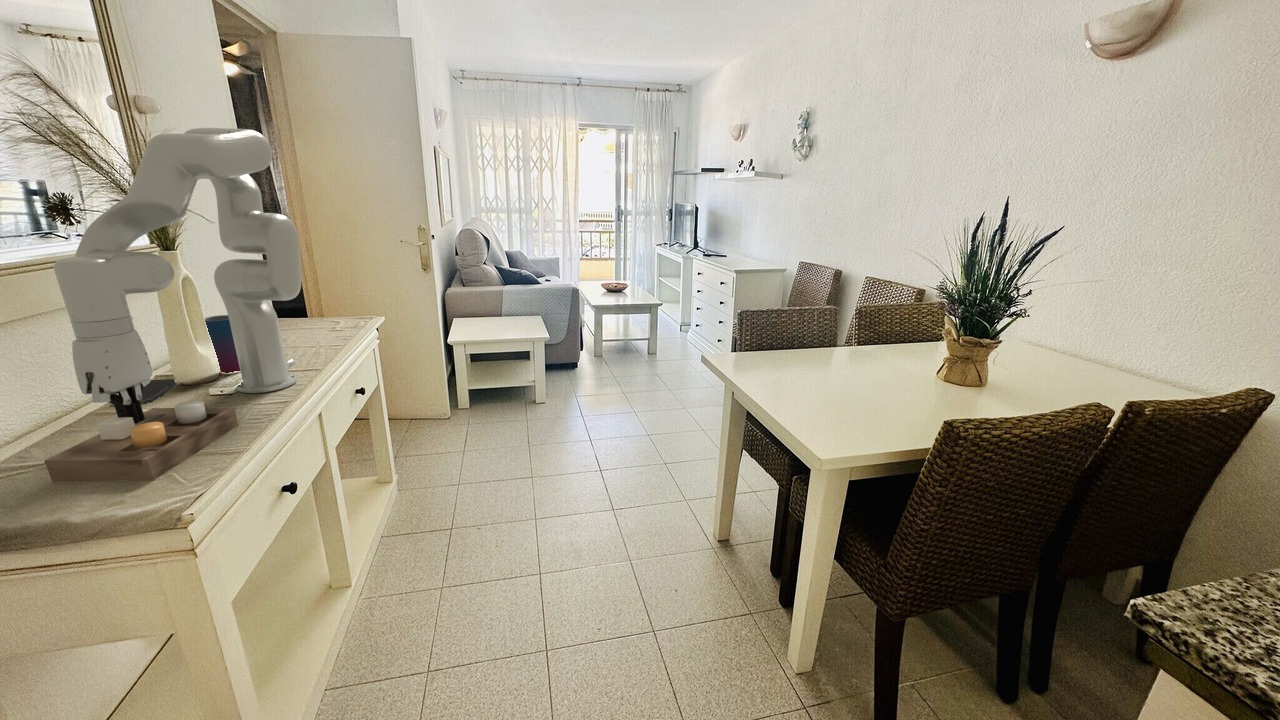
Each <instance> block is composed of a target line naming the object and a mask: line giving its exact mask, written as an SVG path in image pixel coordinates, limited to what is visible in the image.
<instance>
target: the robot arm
mask: <svg viewBox="0 0 1280 720" xmlns="http://www.w3.org/2000/svg"><path fill="white" fill-rule="evenodd" d="M272 160H273V148H272V146H271V144H270V142H269V140H268V139H267V138H266V137H265V136H264V135H263V134H262V133H260V132H258V131H256V130H254V129H250V128H249V129H247V128H228V127H227V128H223V127H196V128H191V129H189V130H186V131H185V132H184V133H162V134H156V135H155V136H153V137H152V138H151V139H150V140H149V141H148V143H147V145H146V148H145V150H144V152H143V155H142V157H141V160H140V162H139V166H138V168H137V171H136V173H135V176H134V178H133V180H132V183H131V184H130V185H131V186H130V188H129V190H128V192H127V194H126V196H124V198H121V200H119V201H117V202H115V203H114V204H113V205H112V206H110V207H109V208H108V209H107V210H106V211H104V212H103V213H101V215H99V216H98V217H97V218H96V219H95V220H94V221H93V222H92V223H91V224H90V225H89V226H88V227H87V228H86V230H85V231H84V233H83V235H82V237H81V240H80V242H79V244H78V247H77V248H76V249H77V250H76V252H75V255H74V257H73V256H72V257H63V258H61V259H57V260H56V261H55V263H54V264H53V270H54V274H55V277H56V280H57V283H58V286H59V291H60V294H61V296H62V299H63V302H64V305H65V309H66V312H67V314H68V317H69V321H70V323H71V327H72V331H73V334H74V336H75V337H74V338H75V339H74V340H72V346H71V348H72V360H73V367H74V371H75V375H76V379H77V383H78V386H79V389H80V392H81V393H82V394H84V395H91V396H92V397H91V398H92V402H93V403H96V404H97V403H98V404H99V403H102V404H103V403H109V405H111V406H114V409H115V412H116V414H117V417H133V421H134V424H137V423H139V422H140V421H143V420H145V417H144V414H143V413H144V411H143V407H142V404H140V401H139V400H141V399H142V393H141V392H142V389H143V387H145V386H146V385H147V384H148V383H150V380H151V377H152V376H153V369H152V365H151V361H150V358H149V355H148V352H147V349H146V348H145V344H144V342H143V340H142V339H141V336H140V334H139V332H138V331H137V330H136V329H135V326H134V322H133V319H134V318H133V317H132V315H131V312H130V308H129V305H128V301H127V298H126V295H129V294H130V295H131V294H132V295H133V294H148V293H149V294H150V293H157V292H159V291H162V290H164V289H166V288H168V287H169V286H170V285H171V283H172V282H173V280H174V278H175V269H174V267H173V266H172V264H171V263H170V262H169V260H167V259H166V258H164V257H163V256H161V255H159V254H155V253H153V252H148V251H147V252H146V251H128V249H129V247H131V245H132V244H133V243H134V242H136V241H137V240H138V239H139V238H141V237H142V236H144V235H146V234H148V233H150V232H152V231H156V230H158V229H161V228H163V227H166V226H169V225H171V224H173V223H176V222H178V221H179V220H181V219H183V217H185V215H186V213H187V210H188V207H189V204H190V202H191V199H192V196H193V193H194V190H195V188H196V185H197V182H198V180H203V179H204V180H210V181H209V182H211V184H212V186H213V188H214V191H215V197H216V207H217V219H218V220H217V221H218V232H219V238H220V242H221V244H222V245H223V247H224V248H226V249H227V250H228V251H231V252H234V253H239V254H254V255H257V254H259V255H266V259H253V258H252V259H251V258H250V259H248V258H247V259H246V258H240V259H239V258H235V259H228V260H225V261H223V262H221V263H219V265H217V267H216V268H215V271H214V275H213V279H214V284H215V287H216V289H217V292H218V293H219V295H220V297H221V299H222V302H223V304H224V307H225V309H226V314H227V315H228V317H229V321H230V326H231V331H232V335H233V340H234V344H235V348H236V353H237V357H238V362H239V366H240V370H241V372H240V374H241V380H243V382H241V385H238V386H237V389H238V390H237V389H236V390H237V391H238V392H240V393H244V394H245V393H247V394H259V393H260V394H261V393H267V392H268V393H269V392H274V391H278V390H282V389H285V388H288V387H290V386H292V385H294V384H296V382H297V380H298V379H297V375H296V374H295V373H291V372H289V370H290V368H292V367H293V366H295V365H296V361H295V360H293V359H292V358H289V359H288V360H286V355H285V354H286V353H285V349H284V345H283V339H282V335H281V334H282V333H281V329H280V324H279V319H278V318H279V317H278V315H277V312H276V310H275V308H274V307H273V306H272V304H271V303H270V302H269V301H277V302H278V301H284V302H285V301H291V300H293V299H295V298H296V297H297V296H299V293H300V292H301V289H302V265H301V264H302V261H301V259H302V257H301V243H300V237H299V236H300V235H299V232H298V229H297V227H296V226H295V224H294V222H293V221H292V220H291V219H290V218H289V217H288V216H286V215H284V214H280V213H275V212H264V208H263V200H262V199H263V197H262V192H261V190H260V187H259V186H258V184H257V182H256V181H255V180H254V178H253V177H252V176H251V175H250V174H254V173H257V172H262V171H263V170H265V169H267V168H268V167H269V166H270V165H271V163H272Z"/></svg>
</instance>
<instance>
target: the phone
mask: <svg viewBox="0 0 1280 720" xmlns="http://www.w3.org/2000/svg"><path fill="white" fill-rule="evenodd" d="M174 379H175V378H165V379H150V383H148V384H147V385H146V386H145V387H143V389H142V392H141V393H142V399H141V400H139V401H140V403H144V404H148V403H147V402H151V403H153V402H152V401H154V400H156V399H157V400H159V399H160V398H161V396H162V395H163V396H165V395H166V394H168V393H169V392H171V391H172V390H174V389H175V388H177V387H178V386H177V383H175V381H174ZM176 386H177V387H176ZM174 387H175V388H174ZM173 388H174V389H173ZM171 389H172V390H171ZM170 390H171V391H170ZM168 391H169V392H168ZM167 392H168V393H167ZM165 393H166V394H165ZM164 394H165V395H164ZM163 396H162V397H163ZM159 397H160V398H159ZM158 398H159V399H158ZM157 400H156V401H157ZM154 402H155V401H154Z"/></svg>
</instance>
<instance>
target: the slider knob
mask: <svg viewBox="0 0 1280 720" xmlns="http://www.w3.org/2000/svg"><path fill="white" fill-rule="evenodd" d="M134 426H135V424H134V421H133V417H118V416H117V417H110V418H109V417H108V418H107V419H105V420H102V421H100V422H99V423H97V424H96V427H97V431H98V433H99V434H100V437H101V440H106V439H125V438H126V437H128V436H130V435H131V434H130V431H129V430H130V429H131V428H132V427H134Z"/></svg>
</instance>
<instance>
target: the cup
mask: <svg viewBox="0 0 1280 720" xmlns="http://www.w3.org/2000/svg"><path fill="white" fill-rule="evenodd" d="M204 318H205V322H206V325H207V328H208V332H209V335H210V337H211V340H212V343H213V346H214V349H215V352H216V355H217V358H218V362H219V366H220V370H221V372H225V373H229V372H234V371H241V370H240V366H239V362H238V357H237V353H236V348H235V344H234V340H233V335H232V331H231V326H230V321H229V317H228V314H222V315H221V314H220V315H213V316H208V317H204Z"/></svg>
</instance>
